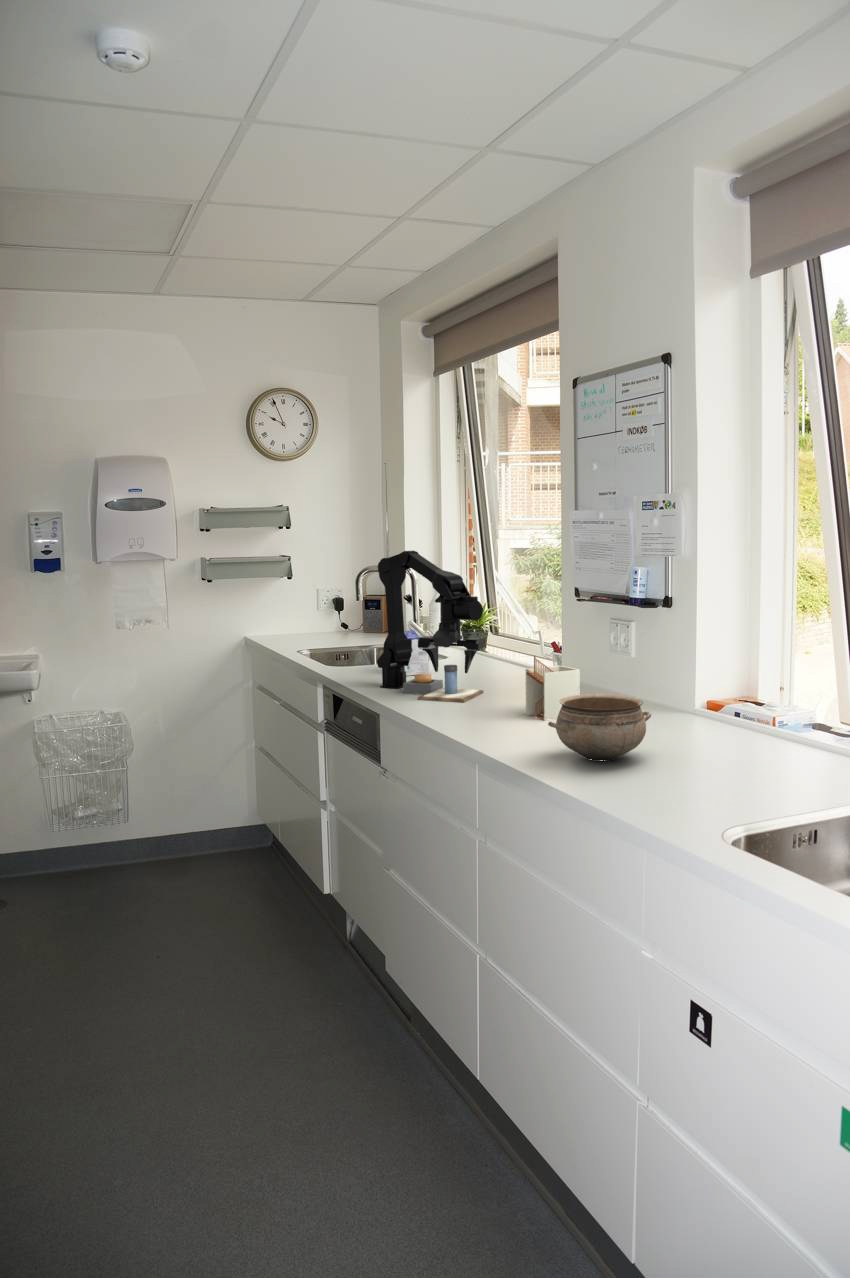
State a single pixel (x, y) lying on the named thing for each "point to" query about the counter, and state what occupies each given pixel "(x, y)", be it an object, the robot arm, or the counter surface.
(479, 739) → the counter surface
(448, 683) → the blue tumbler
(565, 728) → the cooking pot
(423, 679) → the button
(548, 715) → the model staircase
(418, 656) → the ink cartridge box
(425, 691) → the button housing
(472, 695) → the board
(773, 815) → the counter surface
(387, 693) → the counter surface
